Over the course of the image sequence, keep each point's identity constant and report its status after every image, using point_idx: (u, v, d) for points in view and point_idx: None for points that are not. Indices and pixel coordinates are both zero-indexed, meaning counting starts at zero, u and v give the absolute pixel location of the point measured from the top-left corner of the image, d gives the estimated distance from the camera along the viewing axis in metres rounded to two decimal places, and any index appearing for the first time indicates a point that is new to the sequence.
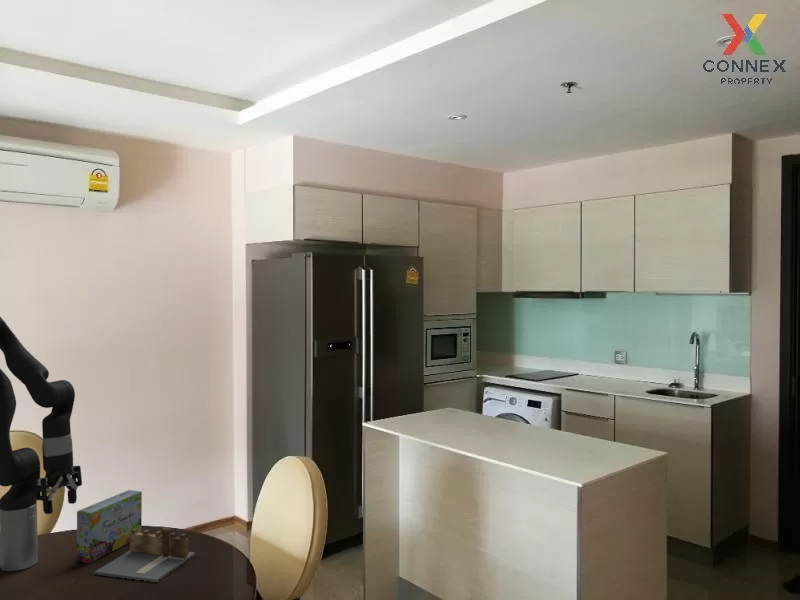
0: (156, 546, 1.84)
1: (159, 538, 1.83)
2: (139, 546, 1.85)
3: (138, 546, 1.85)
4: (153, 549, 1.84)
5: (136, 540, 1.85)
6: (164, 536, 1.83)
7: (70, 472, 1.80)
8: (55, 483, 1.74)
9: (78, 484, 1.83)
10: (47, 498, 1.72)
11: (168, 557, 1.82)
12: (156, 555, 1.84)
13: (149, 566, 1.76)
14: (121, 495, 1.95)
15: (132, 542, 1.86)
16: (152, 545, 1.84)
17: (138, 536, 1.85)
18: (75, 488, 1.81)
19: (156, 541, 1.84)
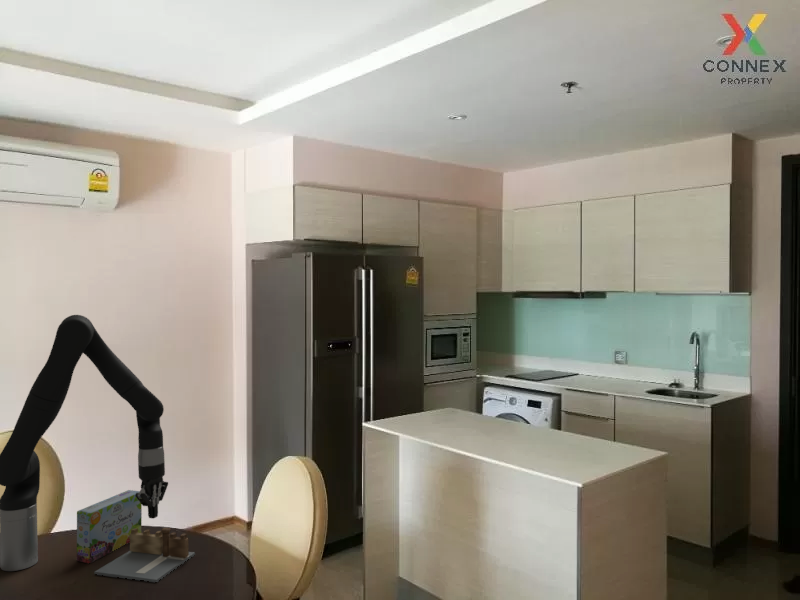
0: (156, 546, 1.84)
1: (159, 538, 1.83)
2: (139, 546, 1.85)
3: (138, 546, 1.85)
4: (153, 549, 1.84)
5: (136, 540, 1.85)
6: (164, 536, 1.83)
7: (161, 480, 1.94)
8: (152, 492, 1.90)
9: (159, 498, 1.94)
10: (152, 504, 1.90)
11: (168, 557, 1.82)
12: (156, 555, 1.84)
13: (149, 566, 1.76)
14: (121, 495, 1.95)
15: (132, 542, 1.86)
16: (152, 545, 1.84)
17: (138, 536, 1.85)
18: (157, 502, 1.92)
19: (156, 541, 1.84)
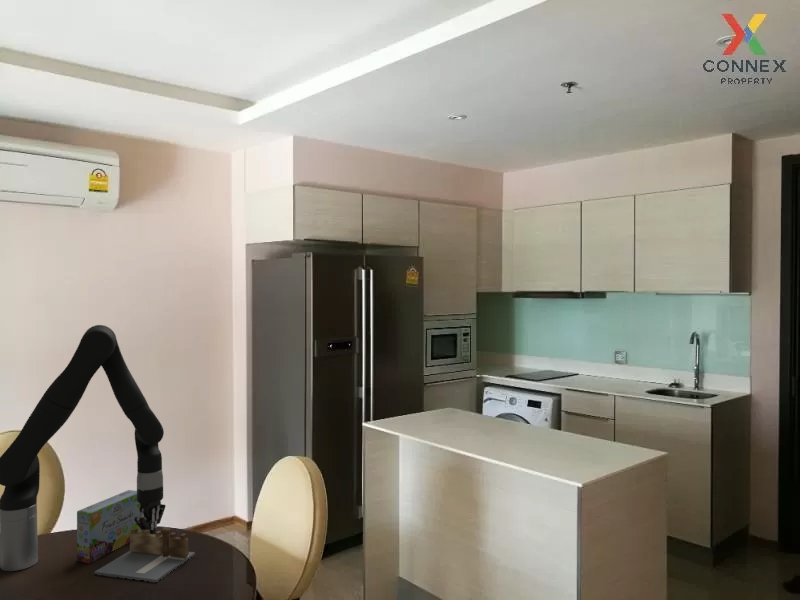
0: (156, 546, 1.84)
1: (159, 538, 1.83)
2: (139, 546, 1.85)
3: (138, 546, 1.85)
4: (153, 549, 1.84)
5: (136, 540, 1.85)
6: (164, 536, 1.83)
7: (159, 503, 1.94)
8: (150, 516, 1.90)
9: (157, 521, 1.94)
10: (150, 528, 1.90)
11: (168, 557, 1.82)
12: (156, 555, 1.84)
13: (149, 566, 1.76)
14: (121, 495, 1.95)
15: (132, 542, 1.86)
16: (152, 545, 1.84)
17: (138, 536, 1.85)
18: (155, 526, 1.92)
19: (156, 541, 1.84)
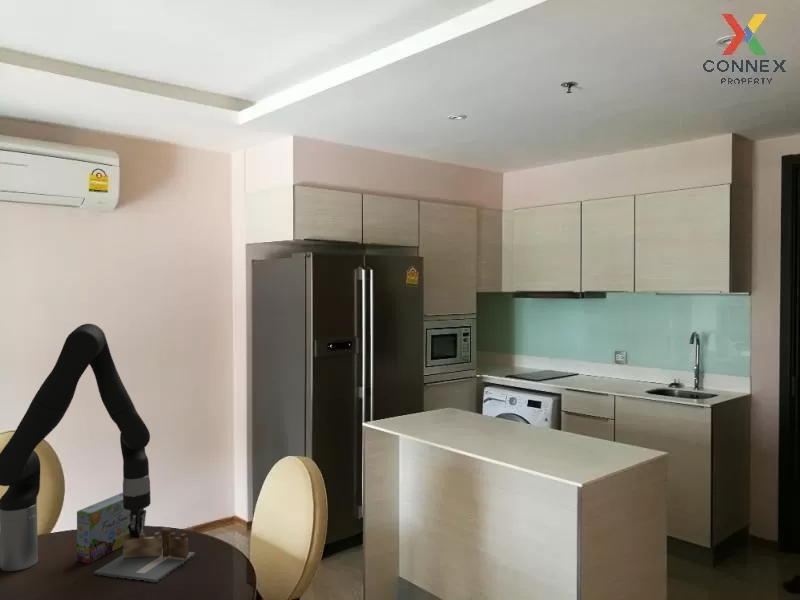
0: (155, 548, 1.83)
1: (159, 539, 1.83)
2: (134, 550, 1.82)
3: (133, 551, 1.82)
4: (152, 551, 1.82)
5: (131, 545, 1.82)
6: (164, 536, 1.83)
7: (143, 509, 1.89)
8: (140, 522, 1.85)
9: (142, 527, 1.88)
10: None
11: (168, 557, 1.82)
12: None
13: (149, 566, 1.76)
14: (121, 495, 1.95)
15: (126, 548, 1.82)
16: (150, 547, 1.82)
17: (133, 540, 1.82)
18: (142, 532, 1.87)
19: (155, 543, 1.83)
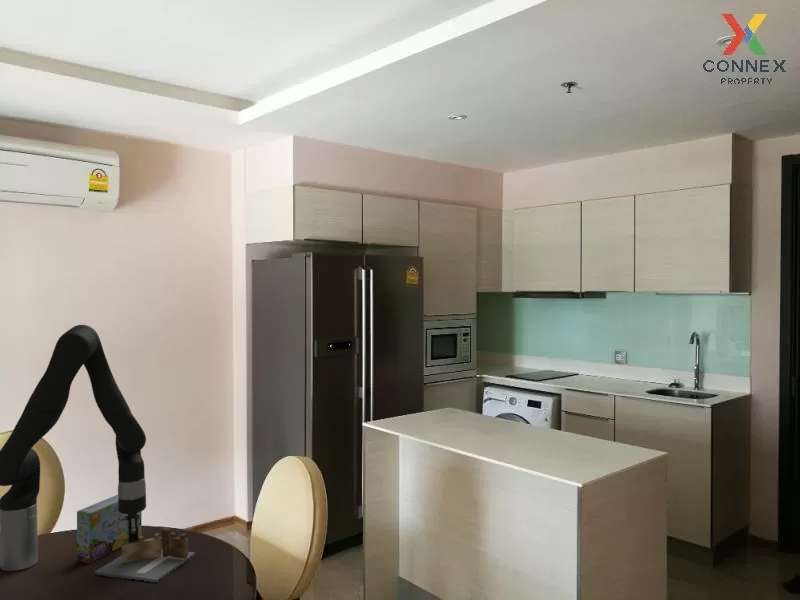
0: (156, 549, 1.82)
1: (160, 540, 1.82)
2: (134, 554, 1.79)
3: (133, 555, 1.79)
4: (152, 553, 1.81)
5: (130, 550, 1.79)
6: (164, 536, 1.83)
7: None
8: (137, 525, 1.82)
9: None
10: None
11: (168, 557, 1.82)
12: None
13: (149, 566, 1.76)
14: None
15: (125, 553, 1.78)
16: (151, 549, 1.81)
17: (133, 544, 1.79)
18: None
19: (155, 544, 1.82)
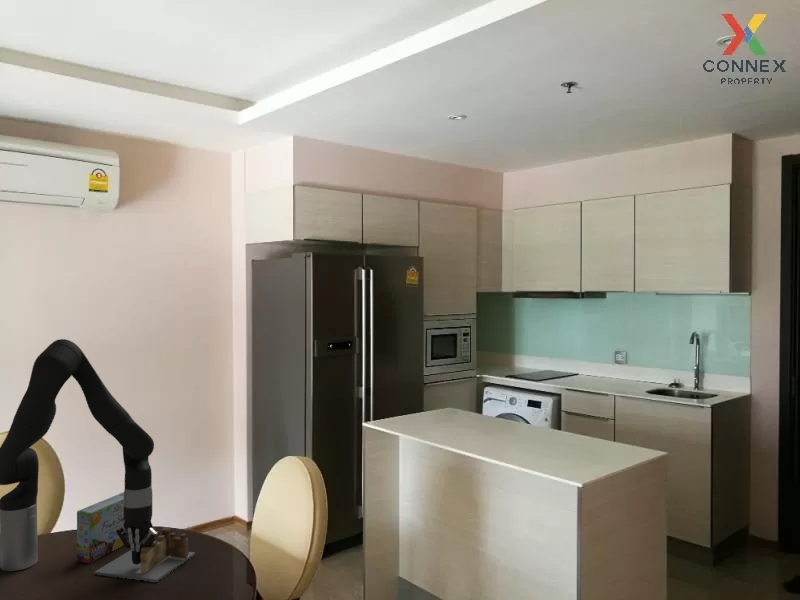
0: (163, 550, 1.81)
1: (165, 540, 1.82)
2: (152, 561, 1.75)
3: (151, 561, 1.75)
4: (161, 555, 1.80)
5: (150, 556, 1.74)
6: None
7: None
8: None
9: None
10: None
11: (168, 557, 1.82)
12: None
13: None
14: (121, 495, 1.95)
15: (147, 561, 1.73)
16: (161, 551, 1.79)
17: (151, 550, 1.75)
18: None
19: (163, 545, 1.81)
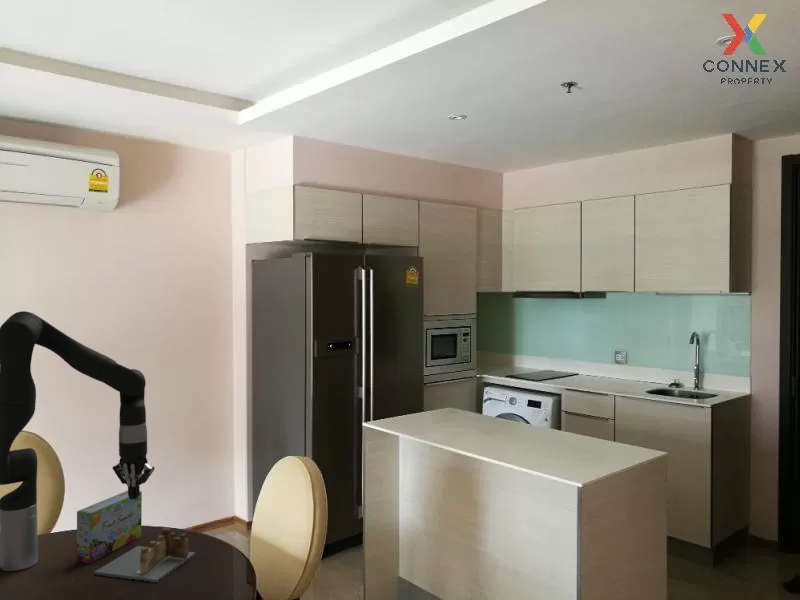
0: (163, 550, 1.81)
1: (165, 540, 1.82)
2: (151, 560, 1.75)
3: (151, 561, 1.75)
4: (161, 555, 1.80)
5: (150, 556, 1.74)
6: None
7: None
8: None
9: None
10: None
11: (168, 557, 1.82)
12: None
13: None
14: (121, 495, 1.95)
15: (147, 561, 1.73)
16: (160, 551, 1.79)
17: (151, 550, 1.75)
18: None
19: (163, 545, 1.81)
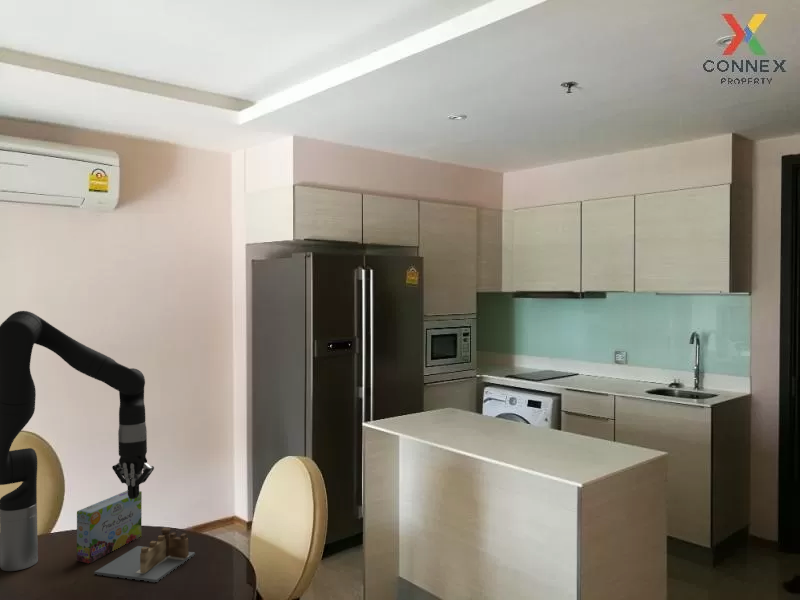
0: (163, 550, 1.81)
1: (165, 540, 1.82)
2: (151, 560, 1.75)
3: (151, 561, 1.75)
4: (161, 555, 1.80)
5: (150, 556, 1.74)
6: None
7: None
8: None
9: None
10: None
11: (168, 557, 1.82)
12: None
13: None
14: (121, 495, 1.95)
15: (147, 561, 1.73)
16: (160, 551, 1.79)
17: (151, 550, 1.75)
18: None
19: (163, 545, 1.81)
